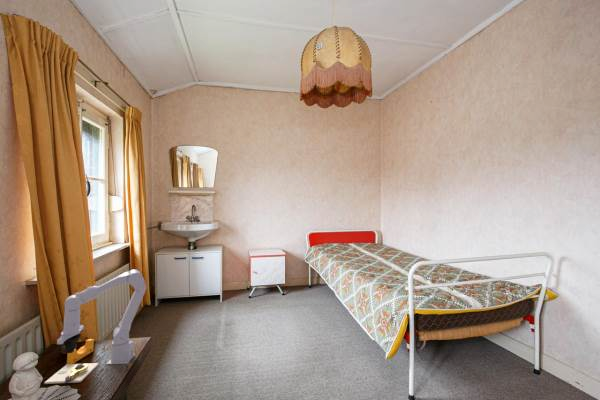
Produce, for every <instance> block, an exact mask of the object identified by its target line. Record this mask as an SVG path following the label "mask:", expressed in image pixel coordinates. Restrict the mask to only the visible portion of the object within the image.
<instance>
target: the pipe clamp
mask: <svg viewBox="0 0 600 400" xmlns="http://www.w3.org/2000/svg"><path fill="white" fill-rule="evenodd" d="M94 342H95V339H94V338H89V339H86V340H85V344H84V345H83V346H81V347H80V348H79V349H78V350H77V348H76V349H74V352H72V353H66V354H67V357H66V365H67V364H76V363H77V362H78V361H80V360H81V359H83V358H84V357H86V356H88V355H89V354H92V352H94Z"/></svg>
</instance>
